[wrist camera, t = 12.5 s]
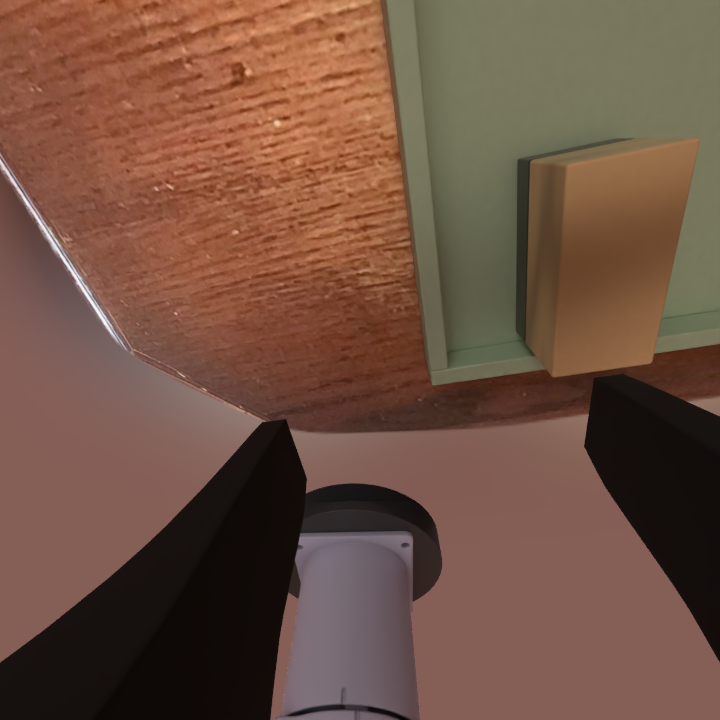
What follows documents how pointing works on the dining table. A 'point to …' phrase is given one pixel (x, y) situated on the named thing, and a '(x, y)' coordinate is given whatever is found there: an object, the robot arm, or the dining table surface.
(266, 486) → the robot arm
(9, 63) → the dining table surface
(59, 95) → the dining table surface
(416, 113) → the tray
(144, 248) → the dining table surface
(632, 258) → the eraser
